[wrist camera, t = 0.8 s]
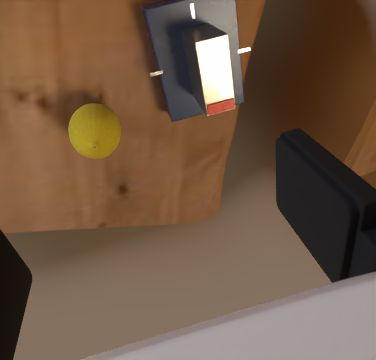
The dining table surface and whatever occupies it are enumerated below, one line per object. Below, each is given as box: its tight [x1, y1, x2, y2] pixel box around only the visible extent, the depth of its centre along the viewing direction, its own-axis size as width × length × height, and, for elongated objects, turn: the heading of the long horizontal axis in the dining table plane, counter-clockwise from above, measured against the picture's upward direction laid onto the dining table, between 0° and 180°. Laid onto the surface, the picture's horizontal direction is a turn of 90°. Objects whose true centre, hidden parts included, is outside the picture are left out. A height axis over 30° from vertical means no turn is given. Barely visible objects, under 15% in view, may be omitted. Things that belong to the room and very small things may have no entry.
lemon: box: [68, 103, 121, 159], centre depth 34 cm, size 6×6×8 cm
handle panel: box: [142, 0, 250, 122], centre depth 35 cm, size 12×11×3 cm
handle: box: [181, 23, 236, 116], centre depth 31 cm, size 7×3×6 cm, turn 11°
